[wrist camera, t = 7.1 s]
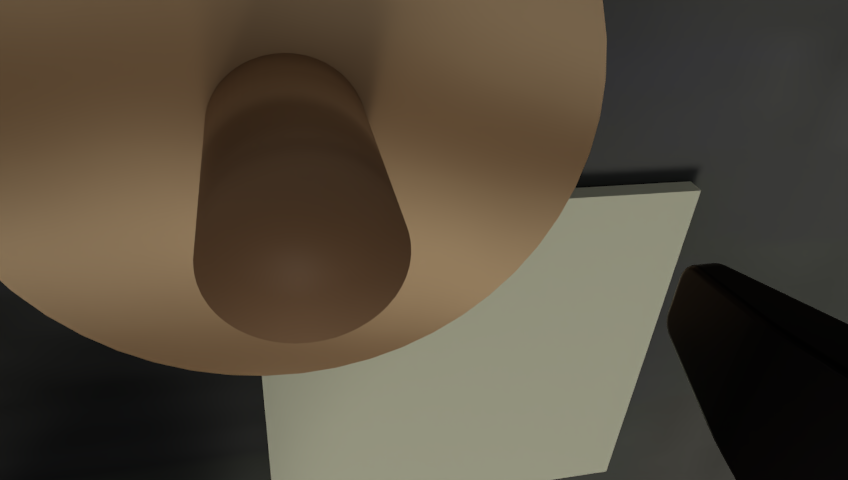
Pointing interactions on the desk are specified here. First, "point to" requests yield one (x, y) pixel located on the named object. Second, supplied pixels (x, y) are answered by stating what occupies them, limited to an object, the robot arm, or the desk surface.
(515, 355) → the mat
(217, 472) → the desk surface
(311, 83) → the lid
